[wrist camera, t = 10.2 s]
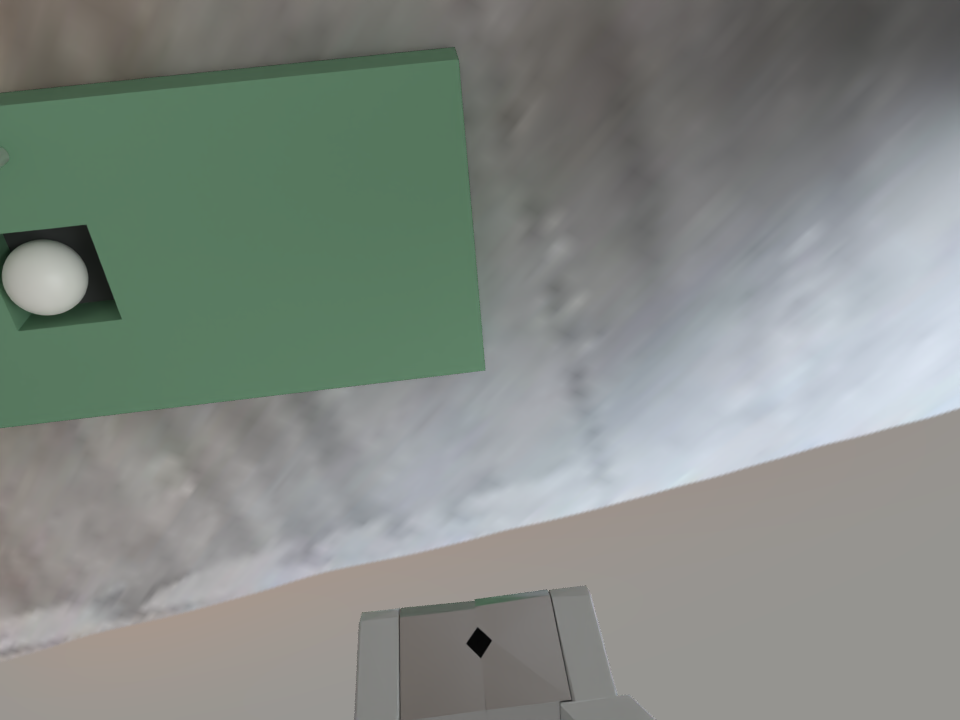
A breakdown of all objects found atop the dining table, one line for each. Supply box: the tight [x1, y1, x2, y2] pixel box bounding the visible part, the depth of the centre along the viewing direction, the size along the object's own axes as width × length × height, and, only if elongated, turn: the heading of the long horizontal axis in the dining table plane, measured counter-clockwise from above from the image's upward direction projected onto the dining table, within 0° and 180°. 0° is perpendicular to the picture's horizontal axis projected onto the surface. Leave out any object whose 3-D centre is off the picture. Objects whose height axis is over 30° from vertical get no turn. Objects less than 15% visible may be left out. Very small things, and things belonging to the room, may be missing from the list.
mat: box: [0, 47, 485, 428], centre depth 33 cm, size 28×16×16 cm, turn 94°
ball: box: [2, 239, 88, 315], centre depth 37 cm, size 4×4×4 cm
